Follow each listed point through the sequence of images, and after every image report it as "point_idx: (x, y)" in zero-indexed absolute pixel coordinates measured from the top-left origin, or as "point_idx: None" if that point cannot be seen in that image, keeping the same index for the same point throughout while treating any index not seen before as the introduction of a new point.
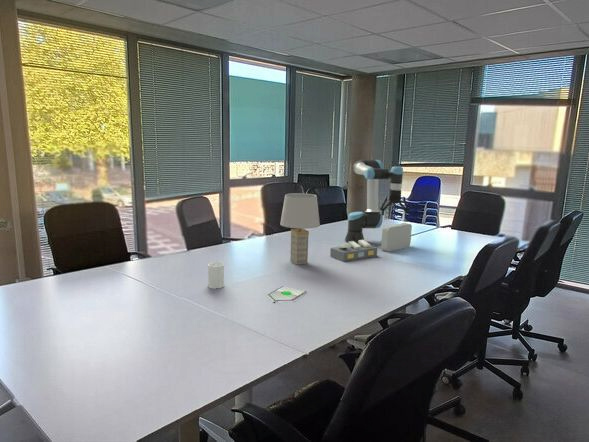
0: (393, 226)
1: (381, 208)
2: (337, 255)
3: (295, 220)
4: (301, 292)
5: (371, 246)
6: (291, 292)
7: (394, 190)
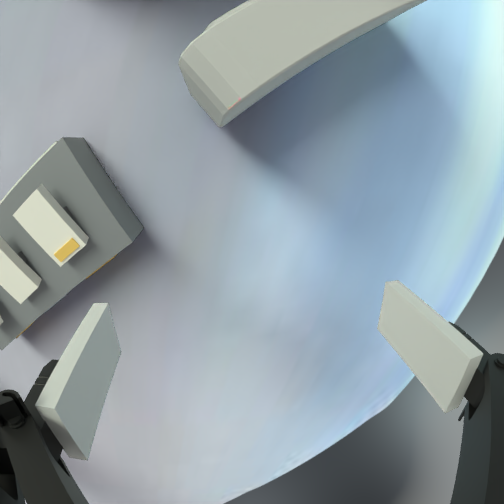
0: (305, 39)
1: (9, 479)
2: None
3: None
4: None
5: (98, 217)
6: None
7: None
